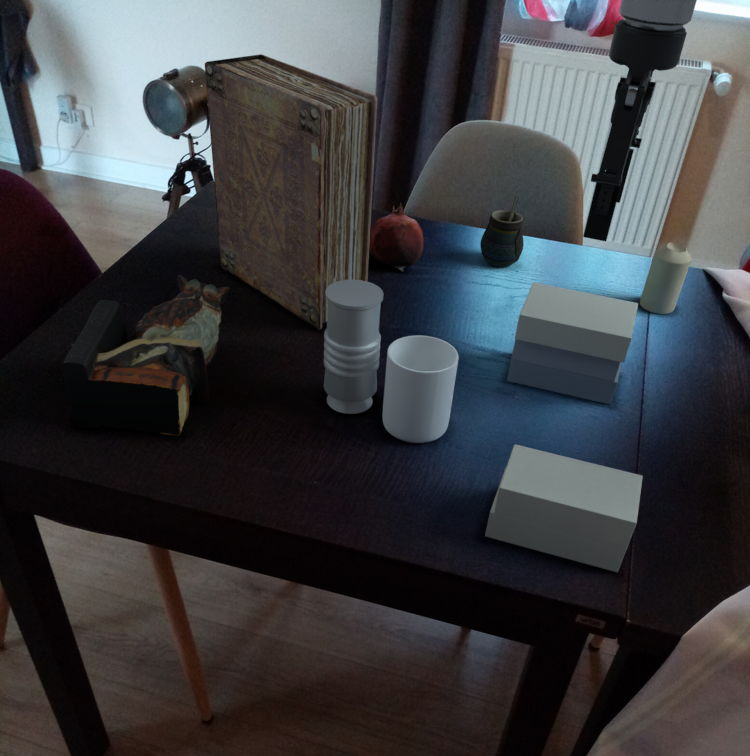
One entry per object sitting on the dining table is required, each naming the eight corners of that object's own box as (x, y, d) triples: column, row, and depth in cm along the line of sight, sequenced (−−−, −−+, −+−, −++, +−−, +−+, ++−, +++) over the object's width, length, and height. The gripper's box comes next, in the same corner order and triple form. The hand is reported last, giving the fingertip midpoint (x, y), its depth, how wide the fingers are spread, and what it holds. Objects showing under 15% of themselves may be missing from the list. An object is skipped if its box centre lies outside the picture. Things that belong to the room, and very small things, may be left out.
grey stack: (616, 374, 109) (630, 330, 104) (610, 405, 103) (624, 359, 99) (518, 353, 112) (527, 308, 107) (506, 381, 106) (516, 335, 102)
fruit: (405, 281, 127) (410, 221, 120) (356, 265, 130) (359, 205, 124) (432, 262, 133) (439, 203, 126) (385, 247, 136) (389, 189, 130)
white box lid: (631, 326, 105) (638, 303, 103) (624, 362, 98) (631, 338, 96) (528, 305, 108) (533, 281, 106) (514, 339, 101) (519, 314, 98)
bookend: (55, 368, 86) (117, 250, 103) (80, 440, 94) (134, 319, 111) (188, 374, 86) (228, 255, 103) (202, 446, 94) (237, 324, 111)
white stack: (624, 523, 86) (643, 474, 81) (617, 572, 80) (636, 523, 75) (500, 490, 89) (511, 441, 84) (484, 536, 83) (495, 486, 78)
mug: (389, 387, 103) (395, 316, 97) (451, 394, 103) (462, 324, 96) (377, 440, 94) (383, 367, 88) (445, 449, 94) (456, 376, 87)
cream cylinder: (649, 315, 123) (669, 254, 116) (633, 299, 127) (651, 239, 120) (680, 313, 124) (701, 253, 118) (663, 297, 128) (682, 238, 121)
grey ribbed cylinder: (339, 380, 104) (342, 274, 94) (385, 395, 102) (394, 289, 92) (312, 404, 99) (313, 296, 89) (360, 422, 97) (366, 312, 87)
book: (366, 312, 118) (378, 96, 98) (319, 331, 113) (322, 107, 93) (266, 253, 132) (259, 52, 112) (220, 267, 127) (204, 60, 107)
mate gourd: (474, 266, 133) (482, 207, 126) (482, 249, 138) (491, 192, 131) (516, 274, 131) (527, 215, 125) (523, 256, 137) (534, 199, 130)
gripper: (629, 0, 93) (587, 181, 107) (601, 39, 75) (555, 249, 89) (694, 8, 92) (642, 191, 106) (681, 50, 74) (621, 263, 88)
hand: (602, 218), depth 98 cm, fingers open, 13 cm apart
